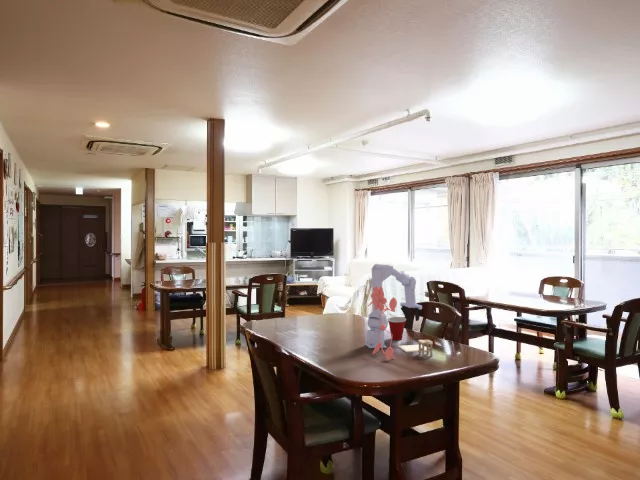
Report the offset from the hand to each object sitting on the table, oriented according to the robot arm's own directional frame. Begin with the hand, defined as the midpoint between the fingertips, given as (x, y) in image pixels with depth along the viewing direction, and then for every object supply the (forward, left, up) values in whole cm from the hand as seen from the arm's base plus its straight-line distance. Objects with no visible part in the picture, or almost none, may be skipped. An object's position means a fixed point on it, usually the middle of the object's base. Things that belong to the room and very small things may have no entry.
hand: (412, 319), depth 256 cm
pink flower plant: (-34, -39, -11) cm, 52 cm away
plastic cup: (-11, -3, -11) cm, 15 cm away
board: (-10, -26, -11) cm, 29 cm away
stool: (-9, -38, -11) cm, 40 cm away
